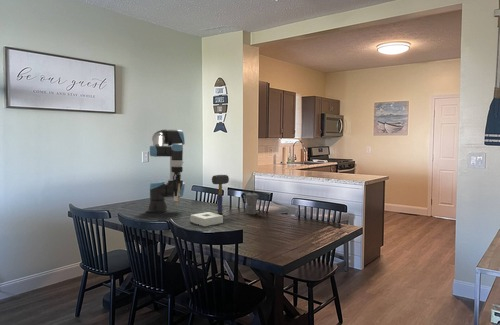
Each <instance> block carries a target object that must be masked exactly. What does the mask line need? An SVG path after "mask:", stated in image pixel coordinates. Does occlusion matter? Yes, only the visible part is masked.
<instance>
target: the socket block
mask: <svg viewBox="0 0 500 325" xmlns="http://www.w3.org/2000/svg"><path fill="white" fill-rule="evenodd" d="M189 219H190V223H193V224H195V225H198V224H199V225H198V226H202V227H208V226H214V225H218V224H223V223H224V215H221V214H220V213H218V214H217V213H213V212H211V211H207V212H201V213H200V212H199V213H195V214H190V218H189Z"/></svg>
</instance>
